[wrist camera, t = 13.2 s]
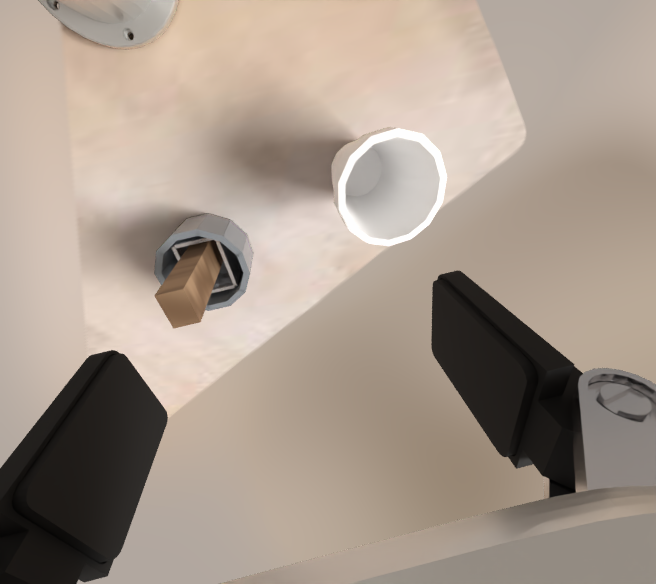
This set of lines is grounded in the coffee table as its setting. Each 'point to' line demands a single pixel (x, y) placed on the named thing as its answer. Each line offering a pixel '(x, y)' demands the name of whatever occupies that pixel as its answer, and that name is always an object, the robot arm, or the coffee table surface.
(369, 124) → the coffee table surface
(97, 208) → the coffee table surface
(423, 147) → the foam cup
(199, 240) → the grey hollow box
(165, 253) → the faceted hollow tube
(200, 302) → the brown wooden bar
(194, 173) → the coffee table surface
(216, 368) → the coffee table surface
